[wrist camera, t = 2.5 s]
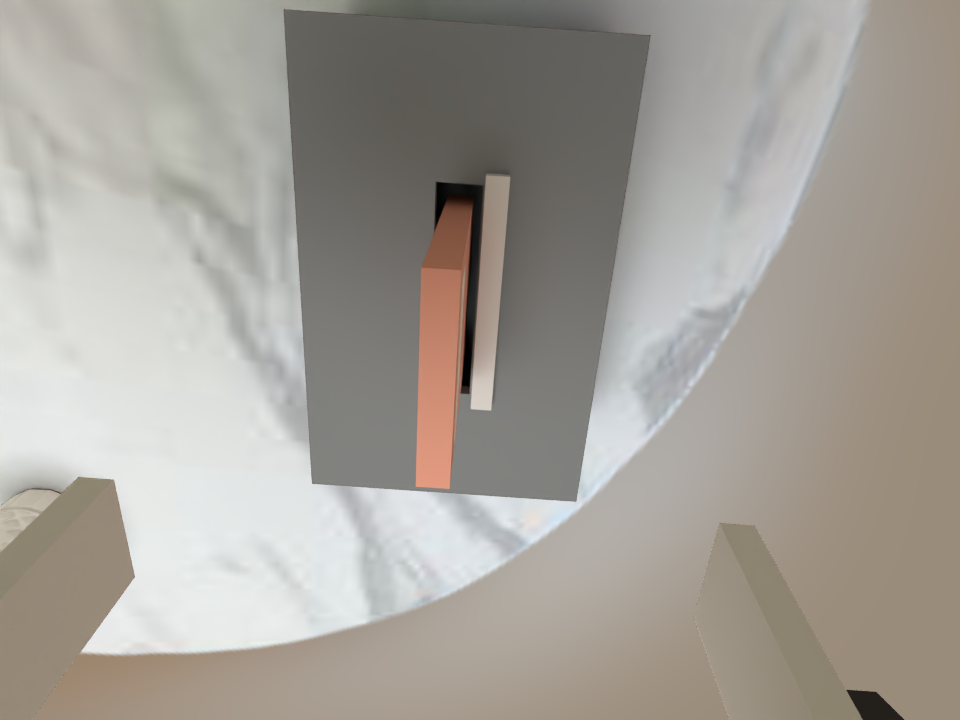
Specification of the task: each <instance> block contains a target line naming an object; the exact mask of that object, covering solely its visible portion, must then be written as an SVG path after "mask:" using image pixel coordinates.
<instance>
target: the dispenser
mask: <svg viewBox="0 0 960 720" xmlns="http://www.w3.org/2000/svg"><path fill="white" fill-rule="evenodd" d="M284 23H285V40H286V57H287V73H288V90H289V107H290V124H291V140H292V157H293V174H294V191H295V207H296V224H297V241H298V258H299V274H300V291H301V308H302V325H303V341H304V358H305V375H306V392H307V408H308V425H309V442H310V459H311V475H312V484H324V485H339V486H353V487H368V488H383V489H398V490H412V491H427V492H442V493H456V494H471V495H486V496H501V497H515V498H530V499H545V500H560V501H574V502H576V500H577V493H578V487H579V481H580V475H581V468H582V462H583V456H584V449H585V443H586V437H587V431H588V424H589V418H590V412H591V406H592V399H593V393H594V387H595V380H596V374H597V368H598V362H599V355H600V349H601V343H602V337H603V330H604V324H605V318H606V311H607V305H608V299H609V293H610V286H611V280H612V274H613V268H614V261H615V255H616V249H617V242H618V236H619V230H620V224H621V217H622V211H623V205H624V199H625V192H626V186H627V180H628V174H629V167H630V161H631V155H632V148H633V142H634V136H635V130H636V123H637V117H638V111H639V105H640V98H641V92H642V86H643V79H644V73H645V67H646V61H647V54H648V48H649V42H650V36H651V35H637V34H623V33H609V32H595V31H581V30H567V29H553V28H539V27H525V26H511V25H497V24H482V23H468V22H454V21H440V20H426V19H412V18H398V17H384V16H370V15H356V14H342V13H328V12H314V11H300V10H286V9H284ZM449 193H450V194H465V195H475V196H474V213H473V230H472V246H471V263H470V280H469V297H468V313H467V330H466V347H465V357H464V366H463V375H462V384H461V393H460V401H459V410H458V419H457V428H456V437H455V446H454V455H453V463H452V472H451V481H450V489H442V488H428V487H416V453H417V413H418V374H419V335H420V295H421V267H422V264H423V261H424V259H425V256H426V254H427V251H428V248H429V246H430V243H431V240H432V238H433V235H434V232H435V230H436V227H437V224H438V222H439V219H440V216H441V214H442V211H443V208H444V206H445V203H446V200H447V198H448V195H449Z"/></svg>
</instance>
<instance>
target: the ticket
mask: <svg viewBox="0 0 960 720" xmlns="http://www.w3.org/2000/svg"><path fill="white" fill-rule="evenodd" d="M474 196H475V195H465V194H450V193H449V195H448V198H447V200H446V203H445V206H444V208H443V211H442V214H441V216H440V219H439V222H438V224H437V227H436V230H435V232H434V235H433V238H432V240H431V243H430V246H429V248H428V251H427V254H426V256H425V259H424V261H423V264H422V267H421V295H420V335H419V374H418V413H417V453H416V487H428V488H442V489H450V481H451V472H452V463H453V455H454V446H455V437H456V428H457V419H458V410H459V401H460V393H461V384H462V375H463V366H464V357H465V347H466V330H467V313H468V297H469V280H470V263H471V246H472V230H473V213H474Z"/></svg>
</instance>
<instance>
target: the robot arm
mask: <svg viewBox="0 0 960 720" xmlns="http://www.w3.org/2000/svg"><path fill="white" fill-rule="evenodd" d="M134 577H135V575H134V571H133V566H132V561H131V557H130V552H129V547H128V543H127V538H126V534H125V529H124V524H123V520H122V515H121V510H120V506H119V501H118V497H117V492H116V487H115V483H114V480H111V479H97V478H83V477H78V478H77V479H76V480H75V481H74V482H73V483H72V484H71V485H70V486H69V487H68V488H67V489H66V490H65V491H64V492H63V493H62V494H61V495H60V496H58V497H57V498H56V499H55V500H54V501H53V502H52V503H51V504H50V505H49V506H48V507H47V508H46V509H45V510H44V511H43V512H42V513H41V514H40V515H39V516H38V517H37V518H36V519H35V520H34V521H33V522H31V523H30V524H29V525H28V526H27V527H26V528H25V529H24V530H23V531H22V532H21V533H20V534H19V535H18V536H17V537H16V538H15V539H14V540H13V541H12V542H11V543H10V544H9V545H8V546H7V547H6V548H5V549H3V550H2V551H1V552H0V720H32V718H33V717H34V715H35V714H36V713H37V711H38V710H39V709H40V707H41V706H42V705H43V703H44V702H45V700H46V699H47V698H48V696H49V695H50V694H51V692H52V691H53V689H54V688H55V687H56V685H57V684H58V682H59V681H60V680H61V678H62V677H63V676H64V674H65V673H66V671H67V670H68V669H69V667H70V666H71V664H72V663H73V662H74V660H75V659H76V658H77V656H78V655H79V653H80V652H81V651H82V649H83V648H84V646H85V645H86V644H87V642H88V641H89V640H90V638H91V637H92V635H93V634H94V633H95V631H96V630H97V628H98V627H99V626H100V624H101V623H102V622H103V620H104V619H105V617H106V616H107V615H108V613H109V612H110V611H111V609H112V608H113V606H114V605H115V604H116V602H117V601H118V599H119V598H120V597H121V595H122V594H123V593H124V591H125V590H126V588H127V587H128V586H129V584H130V583H131V581H132V580H133V579H134ZM693 618H694V621H695V624H696V627H697V629H698V632H699V635H700V638H701V641H702V644H703V646H704V649H705V652H706V655H707V658H708V660H709V664H710V666H711V669H712V672H713V675H714V678H715V680H716V684H717V686H718V689H719V692H720V695H721V698H722V701H723V704H724V706H725V709H726V712H727V715H728V718H729V720H904V719H903V718H902V717H901V716H900V715H899V714H898V713H897V712H896V711H895V710H894V709H893V708H892V707H891V706H890V705H889V704H888V703H887V702H886V701H885V700H884V699H883V698H882V697H881V696H880V695H879V694H877V692H869V691H855V690H846V689H845V687H844V685H843V683H842V682H841V680H840V678H839V676H838V674H837V673H836V671H835V669H834V667H833V665H832V664H831V662H830V660H829V658H828V656H827V655H826V653H825V651H824V649H823V647H822V646H821V644H820V642H819V640H818V639H817V637H816V635H815V633H814V631H813V629H812V628H811V626H810V624H809V622H808V620H807V619H806V617H805V615H804V613H803V611H802V610H801V608H800V606H799V604H798V603H797V601H796V599H795V597H794V595H793V594H792V592H791V590H790V588H789V586H788V585H787V583H786V581H785V579H784V577H783V576H782V574H781V572H780V570H779V568H778V567H777V565H776V563H775V561H774V559H773V558H772V556H771V554H770V552H769V551H768V549H767V547H766V545H765V543H764V541H763V540H762V538H761V536H760V534H759V532H758V531H757V529H756V527H755V526H752V525H740V524H726V523H719V526H718V530H717V534H716V537H715V541H714V544H713V547H712V551H711V555H710V559H709V562H708V566H707V569H706V573H705V576H704V580H703V583H702V587H701V590H700V595H699V598H698V601H697V605H696V609H695V612H694V616H693Z"/></svg>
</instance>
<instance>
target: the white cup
mask: <svg viewBox="0 0 960 720" xmlns="http://www.w3.org/2000/svg"><path fill="white" fill-rule="evenodd" d="M60 495H61V494H59V493H57V492H54V491H52V490H36V489H29V490H27V491H24V492H22V493H20V494H17V495H15V496H13V497H12V498H10V499H9V500H8V501H7V502H5V503H4V504H3V505H2V506H0V552H1V551H2V550H3V549H5V548H6V547H7V546H8V545H9V544H10V543H11V542H12V541H13V540H14V539H15V538H16V537H17V536H18V535H19V534H20V533H21V532H22V531H23V530H24V529H25V528H26V527H27V526H28V525H29V524H30V523H31V522H33V521H34V520H35V519H36V518H37V517H38V516H39V515H40V514H41V513H42V512H43V511H44V510H45V509H46V508H47V507H48V506H49V505H50V504H51V503H52V502H53V501H54V500H55V499H56V498H57V497H58V496H60Z"/></svg>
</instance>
